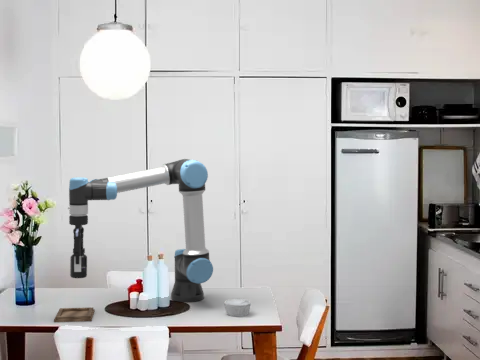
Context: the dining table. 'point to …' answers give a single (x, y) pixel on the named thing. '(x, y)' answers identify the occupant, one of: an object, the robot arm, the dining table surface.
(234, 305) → the ramekin
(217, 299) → the dining table surface
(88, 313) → the walnut tray
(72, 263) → the supplement bottle
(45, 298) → the dining table surface
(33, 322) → the dining table surface
